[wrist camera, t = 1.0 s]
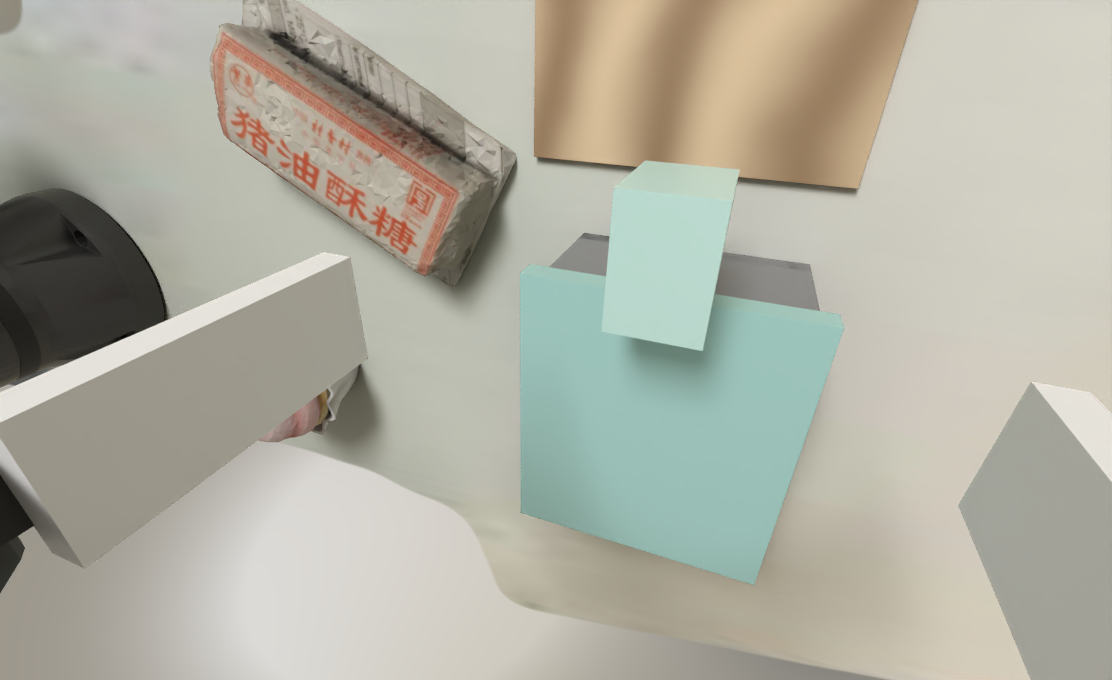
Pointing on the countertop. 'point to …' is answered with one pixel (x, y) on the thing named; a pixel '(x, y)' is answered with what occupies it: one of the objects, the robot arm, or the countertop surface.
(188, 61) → the countertop surface
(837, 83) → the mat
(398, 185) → the packaged product
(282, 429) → the cupcake
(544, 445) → the lid
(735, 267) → the tub
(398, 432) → the countertop surface
